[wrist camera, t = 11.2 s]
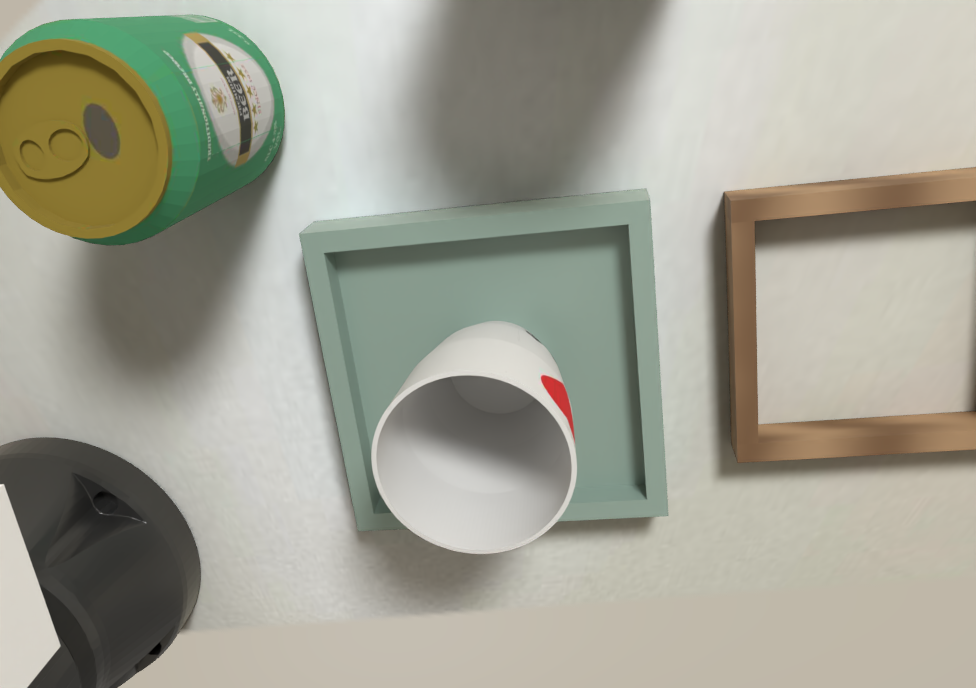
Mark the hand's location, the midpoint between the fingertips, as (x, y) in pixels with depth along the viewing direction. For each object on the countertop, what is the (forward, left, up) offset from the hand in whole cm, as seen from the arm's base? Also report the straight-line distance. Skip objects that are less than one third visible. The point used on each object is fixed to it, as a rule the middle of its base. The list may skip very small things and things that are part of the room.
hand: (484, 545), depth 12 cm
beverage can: (-16, +4, -32) cm, 36 cm away
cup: (-4, -10, -31) cm, 33 cm away
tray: (-4, -10, -32) cm, 33 cm away
